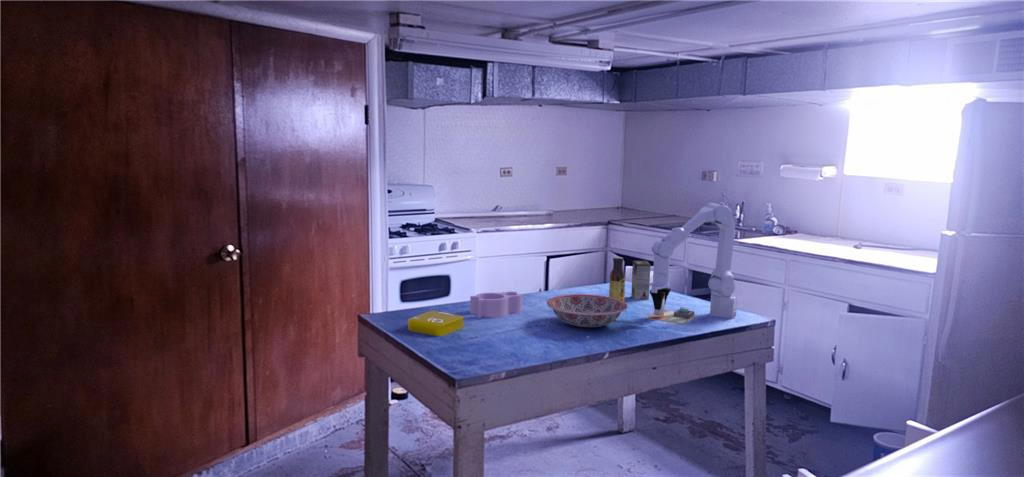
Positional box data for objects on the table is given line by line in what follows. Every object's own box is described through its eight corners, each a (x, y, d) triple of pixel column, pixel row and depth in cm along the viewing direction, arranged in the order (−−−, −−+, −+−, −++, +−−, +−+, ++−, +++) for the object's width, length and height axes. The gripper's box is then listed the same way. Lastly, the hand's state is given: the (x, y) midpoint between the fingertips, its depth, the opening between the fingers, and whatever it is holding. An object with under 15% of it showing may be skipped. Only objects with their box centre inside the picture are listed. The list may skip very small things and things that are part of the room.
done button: (689, 312, 252) (689, 307, 252) (686, 314, 249) (687, 309, 249) (681, 311, 253) (681, 306, 253) (678, 313, 251) (678, 308, 250)
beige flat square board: (697, 317, 253) (697, 314, 253) (684, 327, 239) (684, 324, 239) (659, 311, 261) (659, 309, 260) (645, 320, 247) (645, 317, 247)
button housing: (694, 315, 252) (694, 311, 252) (689, 318, 247) (689, 314, 247) (678, 312, 256) (678, 308, 255) (673, 316, 250) (673, 312, 250)
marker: (665, 314, 249) (666, 293, 247) (661, 316, 246) (663, 295, 244) (655, 312, 250) (656, 292, 249) (652, 314, 247) (653, 293, 246)
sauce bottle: (623, 308, 266) (625, 259, 263) (608, 307, 267) (610, 258, 264) (624, 304, 272) (626, 256, 269) (609, 303, 273) (611, 255, 270)
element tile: (465, 327, 236) (465, 314, 235) (440, 338, 223) (440, 324, 222) (432, 321, 243) (432, 308, 242) (405, 331, 230) (405, 317, 230)
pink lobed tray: (511, 306, 266) (511, 289, 265) (527, 313, 255) (528, 296, 254) (466, 312, 256) (467, 294, 255) (482, 320, 245) (482, 301, 244)
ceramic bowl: (630, 318, 251) (631, 297, 250) (621, 339, 223) (622, 316, 222) (555, 311, 258) (555, 291, 257) (537, 331, 231) (538, 309, 230)
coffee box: (630, 296, 286) (632, 260, 283) (645, 297, 285) (647, 260, 283) (634, 301, 276) (635, 264, 274) (649, 302, 276) (651, 264, 274)
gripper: (657, 268, 254) (655, 302, 256) (644, 274, 242) (642, 310, 244) (675, 270, 250) (673, 305, 252) (662, 276, 238) (660, 313, 240)
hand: (659, 308), depth 248 cm, fingers closed on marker, 3 cm apart
